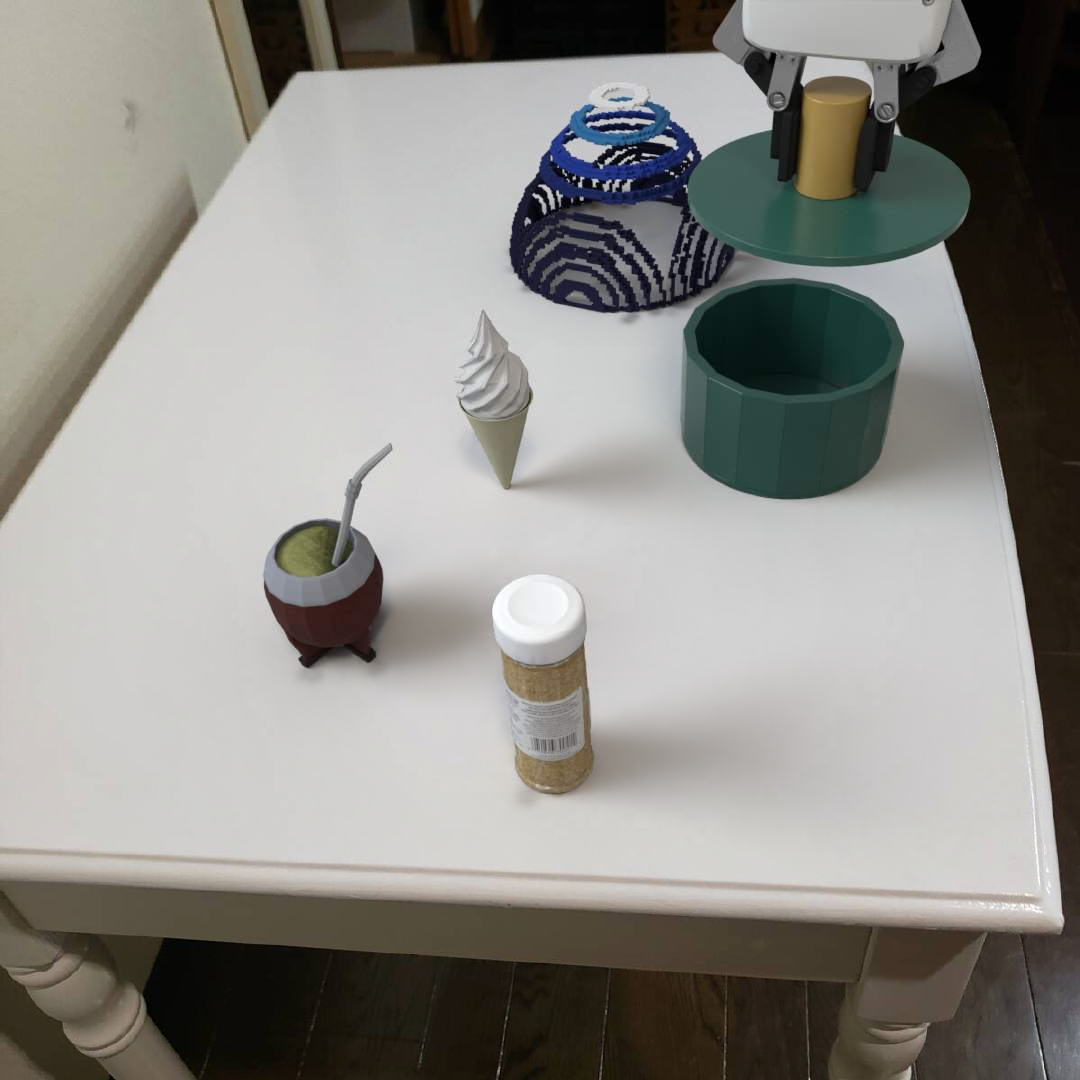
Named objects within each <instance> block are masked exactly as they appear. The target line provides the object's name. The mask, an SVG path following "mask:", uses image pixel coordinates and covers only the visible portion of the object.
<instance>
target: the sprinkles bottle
mask: <svg viewBox="0 0 1080 1080" xmlns="http://www.w3.org/2000/svg"><path fill="white" fill-rule="evenodd" d="M491 617H492V625H493V633H494V638H495V641H496V644H498V648H499V650H500V654H501V660H502V675H503V684H504V689H505V690H504V691H505V696H506V703H507V711H508V717H509V724H510V730H511V731H510V732H511V737H512V739H513V745H514V750H515V751H514V752H515V754H514V755H515V756H514V766H515V769H516V772H517V775H518V777H519V778H520V779H521V781H522V782H523V783H525V784H526V785H527V786H528V787H529V788H531V789H534V790H535V791H538V792H540V793H546V794H561V793H565V792H568V791H572V790H574V789H575V788H577V787H579V786H580V785H581V784H582V783H584V782H585V781H586V780H587V778H588V777H589V775H590V774H591V772H592V771H593V768H594V764H595V763H594V761H595V753H594V750H593V745H592V735H591V729H592V714H591V711H592V710H591V697H590V689H589V686H588V685H589V684H588V683H589V682H588V673H587V659H586V649H585V648H586V647H585V641H586V635H587V631H588V623H587V611H586V603H585V600H584V597H583V595H582V593H581V591H580V590H579V589H578V588H577V586H575V585H574V584H573V583H572V582H571V581H569V580H567V579H565V578H563V577H560V576H557V575H553V574H546V573H539V574H529V575H525V576H522V577H518V578H516V579H515V580H513V581H511V582H509V583H508V584H507V585H505V586H504V587H503V588H502V589H501V590H500V591H499V593H498V594H497V596H496V597H495V599H494V602H493V605H492V609H491Z"/></svg>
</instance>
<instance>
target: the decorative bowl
mask: <svg viewBox="0 0 1080 1080" xmlns="http://www.w3.org/2000/svg"><path fill="white" fill-rule="evenodd" d="M617 91H619V92H620V91H621V92H628V93H633V97H630V96H621V97H617V98H614V97H610V98H605V96H606V95H607V94H608V93H612V92H617ZM649 99H651V91H650V88H649V87H648V86H645V85H640V83H634V82H627V81H626V82H625V81H621V82H613V81H611V82H607V83H602V84H601V85H600V86H599V87H598V86H597V87H595V88H594V89H593V90H592V91H591V93H589V94H588V99H587V103H588V104H584V106H582V107H581V108H580V109H579V110H575V111H574V112H573V113H572V114H571V115H570V119H569V123H568V124H567V125H565V127H564V128H563V129H562V130H561V131H560V132H559V133H558V134H557V135H556V136H555V137H554V138H553V139H552V140H551V141H550V146H549V149H548V150H547V151H546V152H545V153H544V154H542V156H541V157H540V161H539V166H538V171H537V173H536V174H535V177H534V178H533V179H532V180H531V181H530V182H529V183H528V185H527V186H526V187H524V192H523V193H522V195H523V196H522V197H521V198H520V201H519V202H518V203H517V207H516V211H515V212H514V216H513V220H512V224H511V225H510V226H511V234H510V239H509V245H510V247H509V248H508V249H509V250H508V251H509V257H510V265H511V266H512V268H513V273H514V274H517V279H518V280H521V282H523V284H524V286H525V287H528V289H529V290H530V292H531V291H532V292H534V294H538V295H541V297H544V298H545V300H550V301H552V303H554V304H560V305H564V306H569V307H574V308H579V309H583V310H584V309H585V310H588V311H593V312H599V313H603V314H605V312H608V313H613V314H615V313H616V312H617V313H618V312H619V311H621V312H627V313H632V312H636V313H638V312H639V311H640V310H646V311H650V310H654V309H658V308H665V307H666V306H673V305H674V304H678V303H679V302H680V303H682V302H683V301H684V302H686V301H687V300H688V298H689V297H692V298H695V297H696V296H697V295H701V294H702V292H703V291H704V289H708V288H712V286H713V285H714V284H717V283H718V282H719V280H720V279H721V277H722V276H723V274H724V273H725V271H726V269H728V266H729V265H730V263H731V262H732V260H733V258H734V257H735V249H736V248H734V247H732V246H730V245H727V244H725V243H723V246H721V248H720V250H719V254H718V256H717V259H716V264H715V265H716V266H715V268H714V269H715V271H714V274H713V275H712V276H711V278H710V272H711V270H712V269H711V268H712V264H713V257H714V256H715V252H716V248H717V246H718V242H719V241H720V240H719V239H717V238H715V237H714V239H713V241H712V245H711V246H710V248H709V252H708V256H707V253H704V250H706V249H705V247H706V245H707V241H708V239H709V235H711V234H710V233H709V232H707V231H706V230H705V229H704V228H703V227H702V226H701V225H700V224H699V223H698V222H697V221H696V219H695V218H694V216H693V214H692V212H691V210H690V207H689V204H688V192H687V189H688V183H689V179H690V176H691V174H692V172H693V170H694V169H695V168H696V166H697V165H698V164H699V163H700V161H702V160H703V154H702V153H701V151H700V150H698V145H697V142H695V138H694V137H691V136H690V133H689V132H686V128H685V129H684V127H681V125H678V123H677V122H676V121H672V119H671V111H669V110H668V109H666V107H665V106H664V105H661V104H659V103H658V104H657V103H654V102H653V101H649ZM636 107H643V108H649V109H648V110H651V112H647V111H642V110H641V109H638V110H634V109H635V108H636ZM595 109H599V110H604V111H601V112H597V113H593V114H591V113H592V112H593V111H594V110H595ZM605 110H606V111H608V112H605ZM587 113H589V115H588V116H587ZM614 119H617V120H620V119H627V120H633V119H638V120H646V121H652V122H651V123H650V124H648V123H647V124H646V123H639V122H636V123H635V124H631V123H629V122H622V121H621V122H620V123H619V122H614V123H607V124H606V123H605V124H599V125H593V124H591V125H589V126H588V124H589V123H594V124H595V122H596V123H597V122H600V121H601V120H603V121H610V120H614ZM616 131H619V132H617V133H616ZM625 131H629V133H627V132H625ZM660 136H665V138H668V139H673V141H675V142H676V143H675V147H677V148H676V149H675V148H674V146H670V145H666V143H661V142H655V141H650V140H651V139H655V138H656V137H660ZM575 139H576V140H578V139H581V140H584V141H586V143H592V144H593V145H596V146H601V147H602V146H603V147H607V146H611V148H609V147H608V148H606V149H605V150H604V152H602V153H601V154H599V155H598V156H597V159H594V160H593V161H592V162H589V161H585V159H582V158H578V157H577V156H573V155H572V154H571V152H570V151H569V150H567V147H566V146H565V145H567V144H568V143H569V142H573V141H574V140H575ZM623 151H624V152H623ZM616 152H621V153H618V154H617V155H616ZM690 153H691V154H692V160H691V158H690V157H689V156H688V155H689V154H690ZM643 154H644V155H643ZM645 154H646V155H645ZM647 155H649V156H647ZM632 156H633V157H632ZM630 157H631V158H630ZM608 159H611V160H610V161H608V163H607V164H606V161H607V160H608ZM634 162H635V164H634ZM601 166H602V168H601ZM671 173H673V174H671ZM574 177H575V178H574ZM581 178H582V179H581ZM594 180H597V181H595V185H594ZM617 180H619V181H618V186H615V188H614V189H613V187H614V185H615V184H616V181H617ZM628 180H630V182H629V190H628V191H625V190H624V191H623V187H624V186H625V185H626V184H628ZM609 181H611V182H609ZM607 182H609V183H608V189H607V190H605V187H604V185H607ZM579 183H581V186H579ZM543 186H545V187H547V188H549V191H550V192H551V195H552V198H553V201H554V208H552V205H551V204H550V198H549V193H548V191H547V190H545V188H544V187H543ZM685 186H686V187H685ZM557 192H558V195H557ZM535 195H536V196H539V197H540V198H541V199H542V202H541V201H540V198H539V197H536V196H535ZM559 195H560V199H559ZM669 196H670V197H669ZM581 198H583V199H581ZM559 200H560V201H559ZM646 201H647V202H653V201H656V202H662V203H668V204H671V206H675V207H676V206H677V207H682V209H681V210H680V212H679V213H680V216H682V217H681V218H682V219H681V220H680V224H679V226H678V230H677V235H676V236H675V237H676V239H675V241H674V244H673V249H672V253H671V257H672V258H674V259H670V266H669V269H668V272H667V278H668V279H669V280H670V288H669V292H670V300H669V299H667V297H668V293H667V292H668V291H667V290H666V289H664V280H665V276H663V275H662V270H661V269H659V264H658V263H655V262H656V257H653V254H651V253H650V251H649V250H647V247H644V244H643V243H641V240H638V237H637V236H636V231H635V232H634V231H633V228H628V229H624V224H622V223H621V221H620V220H613V221H612V220H605V217H604V216H599V215H594V214H588V213H583V212H577V211H576V212H575V211H574V212H573V213H571V214H570V213H568V211H563V210H567V209H571V208H572V207H578V206H580V207H581V206H582V205H583V204H585V205H588V204H593V202H599V203H600V202H601V204H603V205H610V206H615V205H624V204H625V205H631V206H636V204H637V203H641V202H646ZM543 204H545V211H546V212H543V211H544V210H543ZM553 215H554V216H553ZM527 219H528V220H529V221H530V222H527V224H526V220H527ZM567 219H568V220H571V221H572V222H576V223H581V224H587V225H592V226H598V229H599V230H603V231H610V232H611V231H612V230H615V231H616V236H619V239H624V240H625V243H630V242H631V247H634V253H637V254H640V257H641V258H643V263H645V264H646V267H649V270H652V279H654V280H655V285H658V294H661V295H662V299H658V300H655V301H651V292H652V289H653V287H652V282H650V280H649V279H650V278H649V276H648V275H646V274H647V273H646V272H644V271H643V270H644V269H643V268H644V267H643V266H641V264H640V262H638V260H637V259H635V257H634V253H631V252H627V253H625V250H626V249H625V246H624V245H619V242H617V240H618V238H617V237H616V236H615V235H614V233H610V232H603V233H600V232H595V231H589V230H584V229H577V228H572V227H570V226H569V225H564V224H560V221H566V220H567ZM559 224H560V225H559ZM686 224H689V225H688V226H687V230H686V233H683V230H684V229H685V225H686ZM557 225H559V226H557ZM549 226H550V227H554V228H548V230H547V232H548V233H547V234H545V235H544V237H543V236H540V237H539V238H537V237H538V236H539V235H541V233H543V231H545V230H546V227H549ZM698 227H702V228H701V230H700V232H699V236H698V240H697V241H696V246H695V249H694V251H693V254H692V253H690V251H691V246H692V245H693V240H694V237H695V235H696V231H697V230H698ZM685 234H686V235H685ZM565 236H568V238H571V239H576V240H583V241H587V242H588V241H589V242H593V243H599V242H604V243H603V247H605V248H606V250H607V251H611V252H612V254H613V255H617V256H618V259H621V262H624V265H626V266H630V273H631V275H634V276H636V278H637V279H636V280H637V282H639V285H640V286H639V290H640V291H642V296H643V297H642V298H643V300H645V304H643V303H641V304H640V302H639V301H637V293H636V292H634V287H633V286H631V281H630V280H628V277H625V274H623V273H622V270H619V267H617V266H616V264H617V260H616V259H614V256H612V255H611V252H606V251H605V248H599V247H593V246H588V247H583V246H579V245H578V243H572V242H567V241H561V240H564V239H565ZM536 238H537V239H536ZM684 238H685V239H687V242H684V241H685V239H684ZM535 239H536V240H535ZM557 239H560V241H559V242H558V243H557V244H556V245H554V247H553V249H550V250H549V251H547V252H546V253H545V254H544V256H542V257H541V258H540V259H538V261H536V262H535V263H534V266H533V270H532V271H530V275H529V268H531V264H532V263H533V262H534V261H535V260H536V257H538V252H539V251H541V250H545V249H546V245H548V246H550V245H551V243H553V242H554V241H555V240H557ZM534 240H535V241H534ZM533 241H534V242H533ZM531 245H532V247H531V248H529V247H530V246H531ZM528 248H529V249H528ZM527 250H528V253H527V254H526V252H527ZM682 253H684V255H681V254H682ZM706 257H707V260H704V259H706ZM562 259H564V260H571V261H575V260H577V259H579V260H584V261H585V264H581V263H575V262H570V261H565V262H564V263H563V264H562V265H556V267H554V268H553V269H552V270H551V271H549V272H548V274H546V275H545V278H544V272H545V271H546V270H547V269H548V268H549V267H551V265H554V263H556V264H558V263H559V261H562ZM689 259H690V260H691V259H692V262H691V269H690V275H687V273H686V270H687V268H688V262H689ZM586 264H592V265H595V266H600V269H602V270H603V272H604V273H609V277H612V279H613V280H615V283H617V284H618V291H619V292H621V295H623V296H624V304H627V305H626V306H623V305H620V293H617V287H615V286H614V284H613V283H611V281H610V280H608V277H606V276H605V274H604V273H599V270H597V269H593V266H591V265H586ZM675 264H678V267H677V272H674V267H675ZM567 270H569V271H574V272H580V273H583V274H589V275H590V277H592V278H596V281H598V282H599V284H600V285H604V286H605V291H607V292H608V297H609V298H610V297H611V305H609V304H606V303H605V302H603V296H600V291H599V290H597V287H595V286H591V283H589V282H583V281H579V280H574V279H567V278H563V279H562V280H560V282H559V283H557V284H556V285H555V286H554V292H553V293H551V292H552V286H551V283H553V281H556V278H557V277H556V276H558V277H560V276H561V275H562V274H563V275H564V273H565V272H566V271H567ZM703 273H704V276H703ZM677 276H679V284H681V285H682V294H681V293H680V294H679V295H676V277H677ZM543 278H544V279H543ZM703 278H704V279H703ZM542 279H543V281H541V280H542ZM702 279H703V284H699V280H702ZM688 289H690V291H689V292H688ZM574 291H575V292H580V293H582V295H583V296H585V297H586V299H587V300H588V302H589V303H591V304H585V303H581V302H575V301H570V300H568V299H567V297H568V296H570V295H571V294H572V293H573V292H574Z"/></svg>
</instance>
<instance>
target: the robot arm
mask: <svg viewBox="0 0 1080 1080" xmlns="http://www.w3.org/2000/svg"><path fill="white" fill-rule="evenodd" d="M941 43H942V45H943V48H944V49H943V50H941V51H938V50H939V48H940V45H941ZM712 44H713V47H714V48H715V49H716V50H717V51H719V52H721V54H723V55H725V56H726V57H727V58H728V59H730V60H731V61H732V62H734V63H735V64H736V65H740V66H741V67H742V68H743V70H744V71H745V73H746V74H747V75H748V77H749V78H750V80H751V81H752V82H753V83H754V84H755V85H756V86H757V87H758V89H759V90H760V91H761V92H762V93H763V95H764V96H765V97H766V105H767V106H768V108H769V109H770V110H771V111H773V112H772V124H771V125H772V126H771V130H772V136H771V149H770V158H771V159H778V160H779V166H778V178H777V180H778V181H780V182H788V180H792V178H793V176H794V174H795V168H796V157H797V147H798V136H799V126H800V115H801V105H802V94H803V88H804V85H803V84H802V80H803V79H802V78H803V76H804V71H805V67H806V63H807V60H808V57H811V58H822V59H834V60H845V61H846V60H847V61H856V62H857V61H858V62H867V63H868V62H869V63H873V64H872V65H873V68H872V69H873V101H872V102H871V104H870V110H869V113H868V114H867V116H866V118H865V120H864V122H863V126H862V132H861V139H860V147H859V154H858V162H857V169H856V176H855V184H854V188H856V189H857V191H859V192H867V191H868V189H869V186H870V184H871V182H872V180H873V177H874V175H875V173H876V171H878V172H886V170H887V167H888V164H889V160H890V155H891V149H892V143H893V136H894V134H895V128H896V122H897V117H898V115H899V114H900V113H902V112H903V111H904V110H906V109H907V108H908V107H910V106H911V105H913V104H914V103H915V102H916V101H918V100H919V99H921V98H922V97H923V96H924V95H926V94H927V93H928V92H930V91H931V90H932V89H933V88H934V87H937V86H939V85H941V84H942V85H943V84H945V83H947V82H950V81H951V80H952V81H953V80H954V79H956V78H959V77H961V76H963V75H965V74H968V73H970V72H971V71H973V70H975V68H976V67H977V65H978V64H979V60H980V58H981V53H982V49H981V45H980V44H979V41H978V39H977V36H976V33H975V31H974V29H973V27H972V23H971V21H970V19H969V16H968V13H967V12H966V9H965V6H964V5H963V2H962V0H735V2H734V3H733V5H732V6H731V8H730V9H729V10H728V13H727V14H726V16H725V17H724V19H723V20H722V22H721V23H720V25H719V26H718V28H717V29H716V31H715V33H714V34H713V36H712ZM937 51H938V52H937ZM914 63H915V64H914ZM909 64H914V65H912V66H911V67H910V68H909V69H908V65H909Z"/></svg>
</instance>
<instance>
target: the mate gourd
mask: <svg viewBox="0 0 1080 1080" xmlns="http://www.w3.org/2000/svg"><path fill="white" fill-rule="evenodd" d="M393 449H394V448H393V444H392V443H391V442H389V443H388V444H387V445H385V446H384V447H383V448H381V449H380V450H379V451H377V452H376V453H375V454H374V455H373V456H372V457H370V458H369V459H367V461H365V462H364V463H363V464H362V465H361V466H360V468H359V469H358V470H357V471H356V472H355V473H354V475H353V477H352V478H350V479H349V480H348V482H347V484H346V487H345V492H344V494H343V495H344V496H345V502H344V506H343V511H342V516H341V520H339V519H332V518H328V517H327V518H326V517H325V518H316V519H315V518H314V519H308V520H306V521H303V522H300V523H297V524H294V525H293V526H291V527H289V528H288V529H286V531H284V532H283V533H281V534H280V535H279V536H278V538H277V539H276V540H275V542H274V543H273V545H272V546H271V548H270V549H269V551H268V552H267V555H266V557H265V562H264V566H263V573H262V577H263V590H264V595H265V598H266V600H267V602H268V605H269V607H270V610H271V612H272V614H273V616H274V618H275V621H276V622H277V624H278V625H279V626H280V628H282V630H283V632H284V634H285V636H286V638H287V640H288V641H289V643H290V644H291V645H292V646H293V648H295V649H296V650H297V651H298V652H299V654H300V656H299V657H298V658H297V660H298V661H299V663H300V665H301V666H303V667H304V668H307V669H309V668H311V667H312V666H313V665H315V664H316V663H317V662H318V661H320V660H321V659H323V657H324V656H326V655H327V654H328V653H330V652H331V651H332V650H333V649H335V648H336V647H341V646H343V647H344V648H345V649H347V650H349V651H350V652H351V653H353V655H355V656H357V657H358V658H359V659H361V660H362V661H364V662H366V663H368V664H369V663H372V661H374V660H375V659H376V658H377V651H376V650H375V649H374V648H373V647H371V627H372V626H373V624H374V622H375V620H376V618H377V616H378V614H379V613H380V609H381V606H382V602H383V601H382V600H383V590H384V570H383V566H382V563H381V560H380V559H379V557H378V556H377V555H378V554H377V553H376V551H375V549H374V547H373V546H372V544H371V542H370V539H369V538H368V536H367V535H365V534H364V533H362V532H361V531H360V530H358V529H356V528H355V527H354V526H352V525H351V524H352V519H353V515H354V510H355V505H356V500H358V498H359V497H360V492H361V490H362V488H363V483H362V482H363V480H364V479H365V478H366V477H367V475H368V474H369V473H370V472H371V471H373V469H374V468H375V467H376V466H377V465H378V464H379V463H381V461H383V460H384V458H386V457H387V456H388V455H389V454H390V453H391V452H392V451H393Z"/></svg>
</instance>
